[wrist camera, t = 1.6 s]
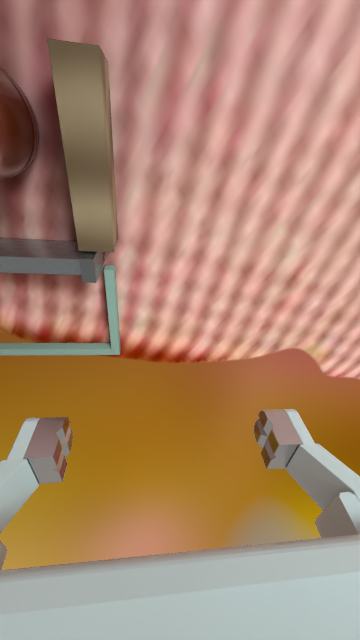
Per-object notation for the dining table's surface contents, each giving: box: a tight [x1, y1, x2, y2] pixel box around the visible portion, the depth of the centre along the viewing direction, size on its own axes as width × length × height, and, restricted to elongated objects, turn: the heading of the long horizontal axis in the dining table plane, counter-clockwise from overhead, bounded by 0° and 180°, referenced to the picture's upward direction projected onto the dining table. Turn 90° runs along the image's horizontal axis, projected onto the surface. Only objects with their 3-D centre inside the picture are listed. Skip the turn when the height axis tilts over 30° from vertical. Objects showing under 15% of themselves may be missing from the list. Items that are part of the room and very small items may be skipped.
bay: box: [0, 265, 121, 355], centre depth 30 cm, size 12×20×1 cm, turn 85°
